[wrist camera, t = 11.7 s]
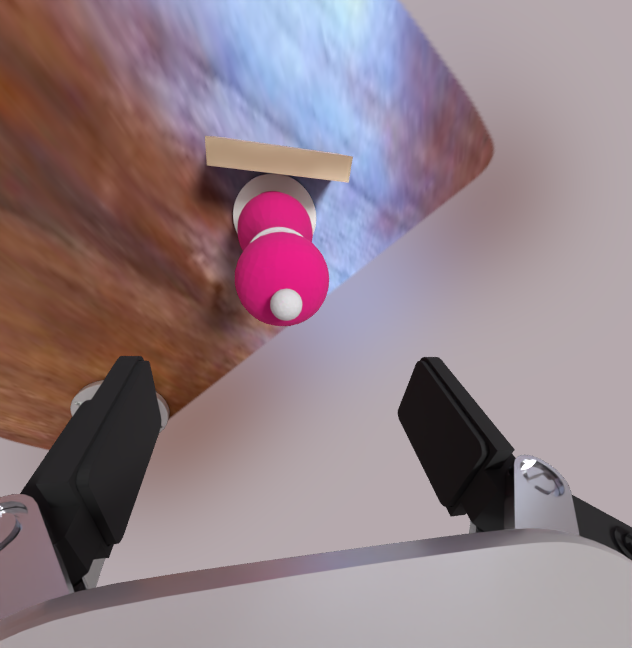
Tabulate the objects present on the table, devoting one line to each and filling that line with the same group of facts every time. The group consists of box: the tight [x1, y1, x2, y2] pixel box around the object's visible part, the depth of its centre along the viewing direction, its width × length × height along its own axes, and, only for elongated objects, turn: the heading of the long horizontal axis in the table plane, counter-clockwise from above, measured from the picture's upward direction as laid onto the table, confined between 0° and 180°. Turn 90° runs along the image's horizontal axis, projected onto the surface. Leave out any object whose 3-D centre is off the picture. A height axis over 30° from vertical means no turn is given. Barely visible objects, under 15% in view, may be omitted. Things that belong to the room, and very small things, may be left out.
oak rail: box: [205, 136, 353, 182], centre depth 27 cm, size 2×12×6 cm, turn 82°
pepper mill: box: [235, 191, 329, 326], centre depth 24 cm, size 7×7×20 cm
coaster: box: [233, 173, 316, 234], centre depth 32 cm, size 9×9×1 cm
